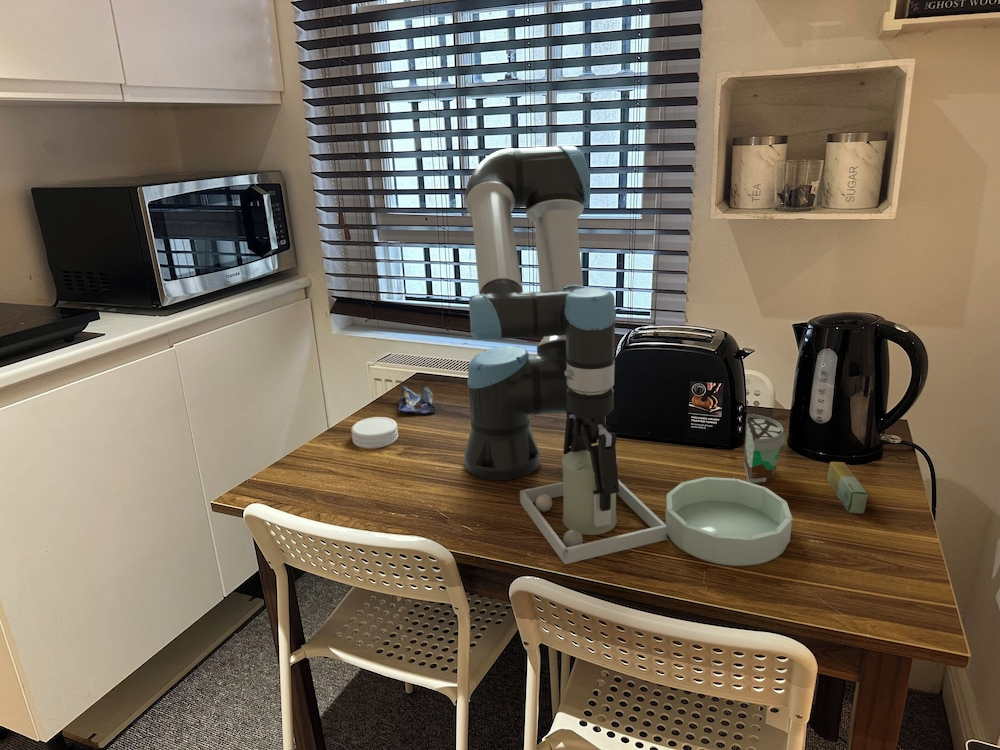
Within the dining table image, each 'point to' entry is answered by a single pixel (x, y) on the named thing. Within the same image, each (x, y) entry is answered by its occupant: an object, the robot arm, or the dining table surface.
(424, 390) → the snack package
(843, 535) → the dining table surface
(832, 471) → the medication box
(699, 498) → the bowl
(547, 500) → the pebble
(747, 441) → the food container
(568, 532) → the pebble
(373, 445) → the round white tin
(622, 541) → the parts tray
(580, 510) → the can
